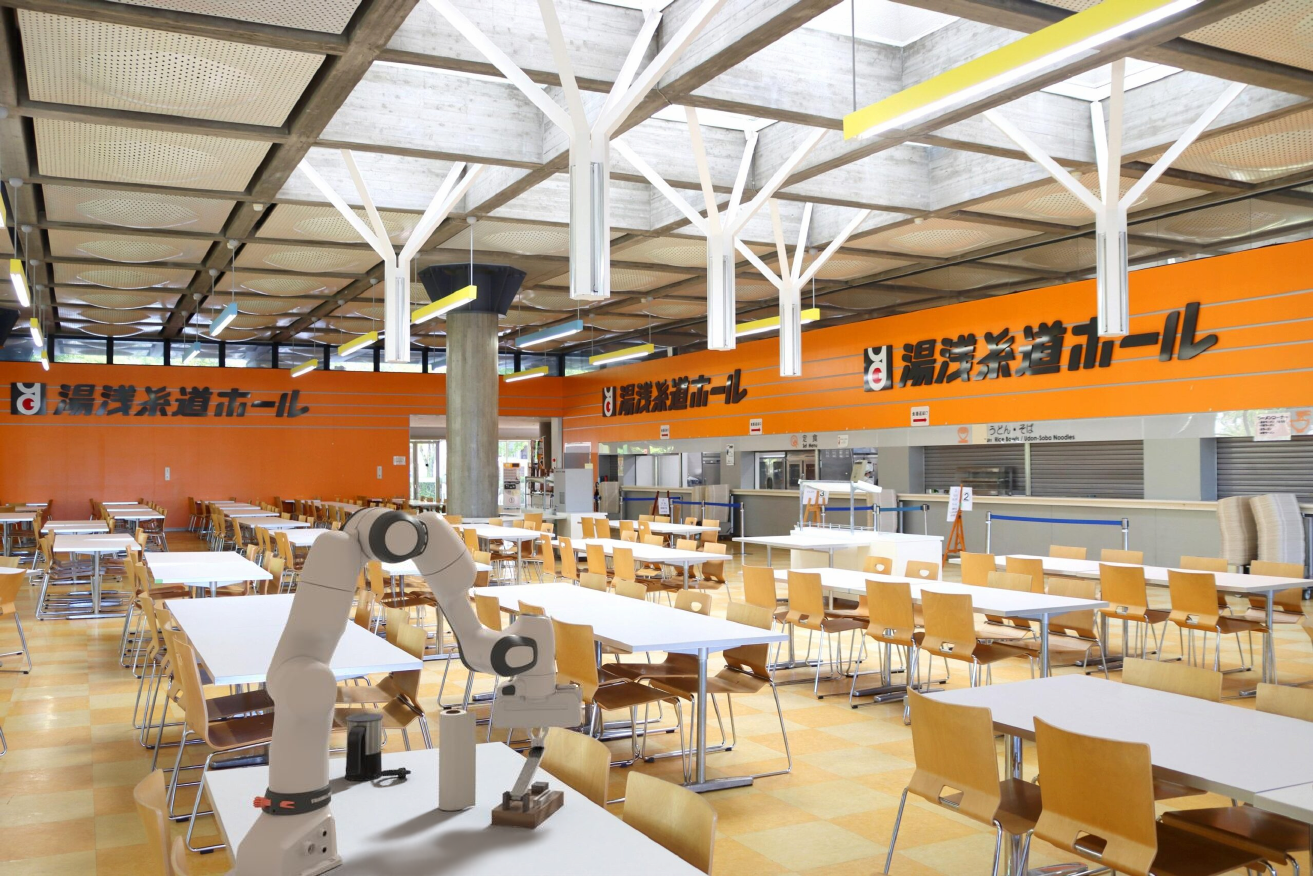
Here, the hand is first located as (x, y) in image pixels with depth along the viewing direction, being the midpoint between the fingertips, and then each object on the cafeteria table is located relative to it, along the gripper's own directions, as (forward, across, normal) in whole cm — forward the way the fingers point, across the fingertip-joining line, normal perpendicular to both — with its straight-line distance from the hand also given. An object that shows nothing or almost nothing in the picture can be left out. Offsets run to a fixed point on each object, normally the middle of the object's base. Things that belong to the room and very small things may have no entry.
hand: (537, 746), depth 229 cm
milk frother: (+13, +43, -24) cm, 51 cm away
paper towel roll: (+13, +19, 0) cm, 23 cm away
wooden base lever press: (+13, +2, +5) cm, 14 cm away
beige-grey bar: (+5, +2, +5) cm, 7 cm away
